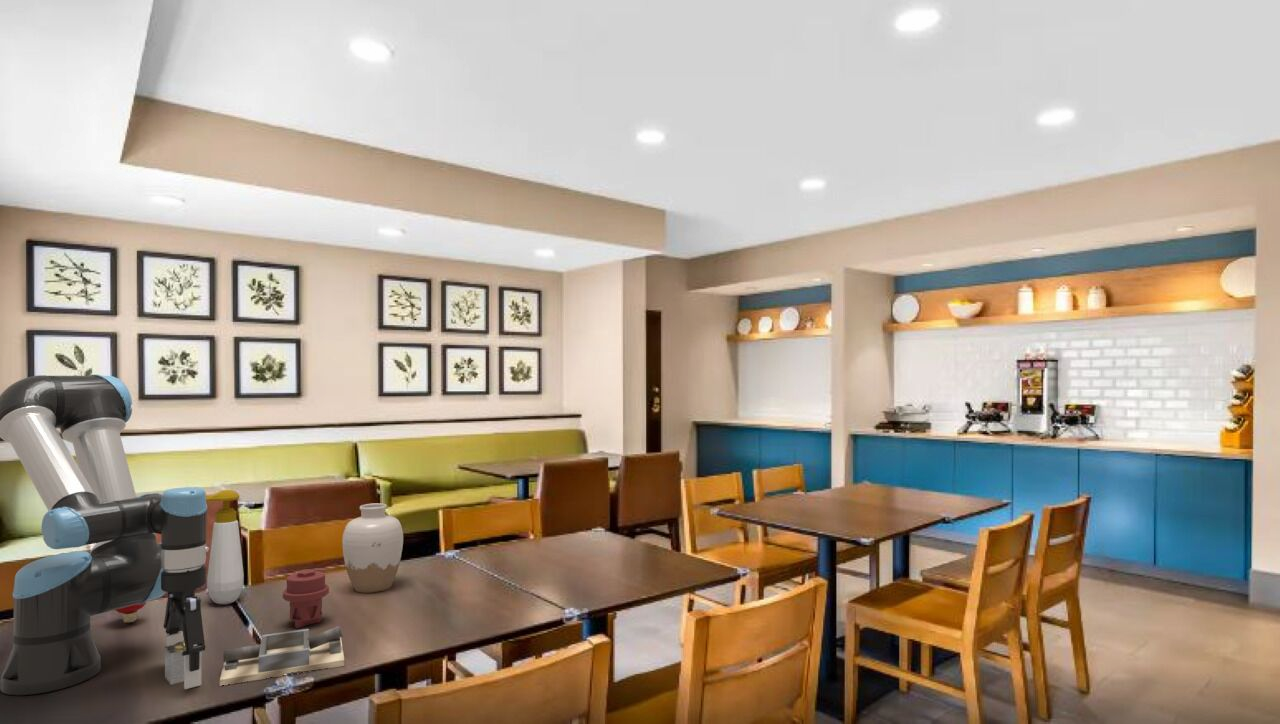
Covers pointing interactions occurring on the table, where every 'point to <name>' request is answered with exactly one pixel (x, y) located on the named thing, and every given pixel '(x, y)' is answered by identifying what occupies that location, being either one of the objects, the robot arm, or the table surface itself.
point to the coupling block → (175, 662)
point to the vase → (372, 549)
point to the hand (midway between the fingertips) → (183, 676)
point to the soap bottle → (225, 553)
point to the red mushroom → (130, 612)
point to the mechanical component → (305, 596)
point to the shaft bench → (283, 655)
